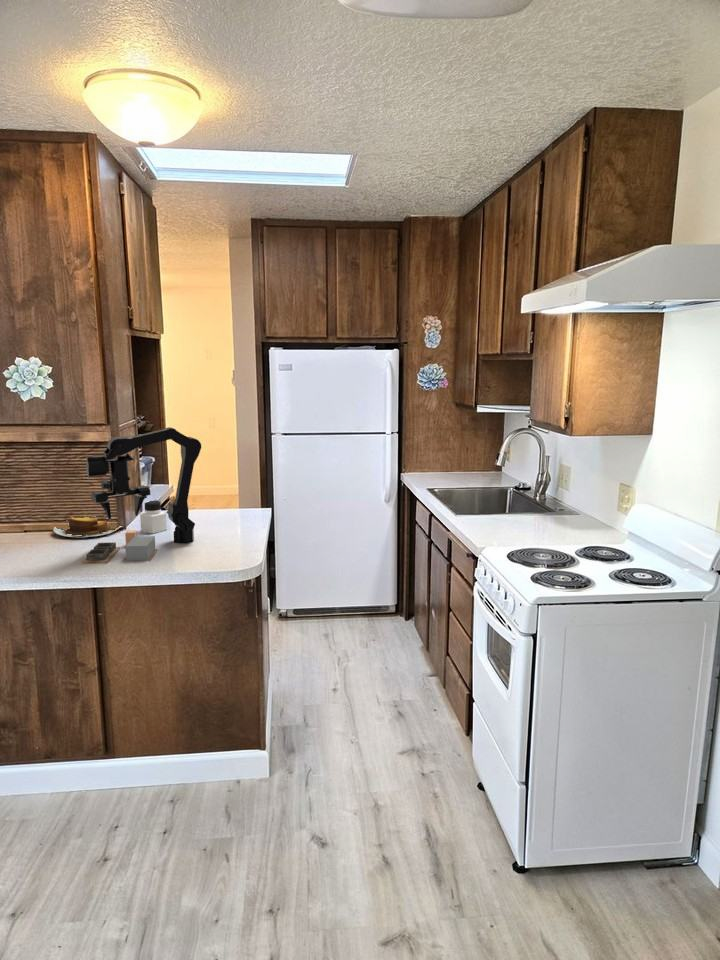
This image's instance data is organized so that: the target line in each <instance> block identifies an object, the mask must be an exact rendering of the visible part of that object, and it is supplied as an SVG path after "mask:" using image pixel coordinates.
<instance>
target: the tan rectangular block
mask: <svg viewBox="0 0 720 960" xmlns="http://www.w3.org/2000/svg"><path fill="white" fill-rule="evenodd" d="M124 535H125V546H126V545H127V544H128V543H129V542H130V541H131V540H132V538H133V537H134V536H138V531H137V529H133V530H131V529H130V530H129V529H128V530H126V532H125V534H124Z"/></svg>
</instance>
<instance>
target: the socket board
mask: <svg viewBox="0 0 720 960" xmlns="http://www.w3.org/2000/svg"><path fill="white" fill-rule="evenodd" d="M120 550H121V547H120V546H117V542H114V541H113V542H98V543H96V544H95V546H93V549H90V551H88V552H87V553H86V556H85V558H84V559H83V560H82V561H81V564H82V565H84V564H85V565H87V564H88V565H89V564H92V565H93V564H109V562H111V560H112V559H113V558H114V557H115V555H117V553H118V552H119V551H120Z"/></svg>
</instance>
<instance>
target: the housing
mask: <svg viewBox="0 0 720 960" xmlns="http://www.w3.org/2000/svg"><path fill="white" fill-rule="evenodd" d="M155 550H156V536H154V535H146V536H145V535H142V536H141V535H139V536H138V535H137V536H134V537H133V538H132V540H131V541H130V542H129V543H128V544H127V545H126V544H125V558H126V561H125V562H140V561H139V560H149V558H150V557H151V555H152V554H153V553H154V551H155Z"/></svg>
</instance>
